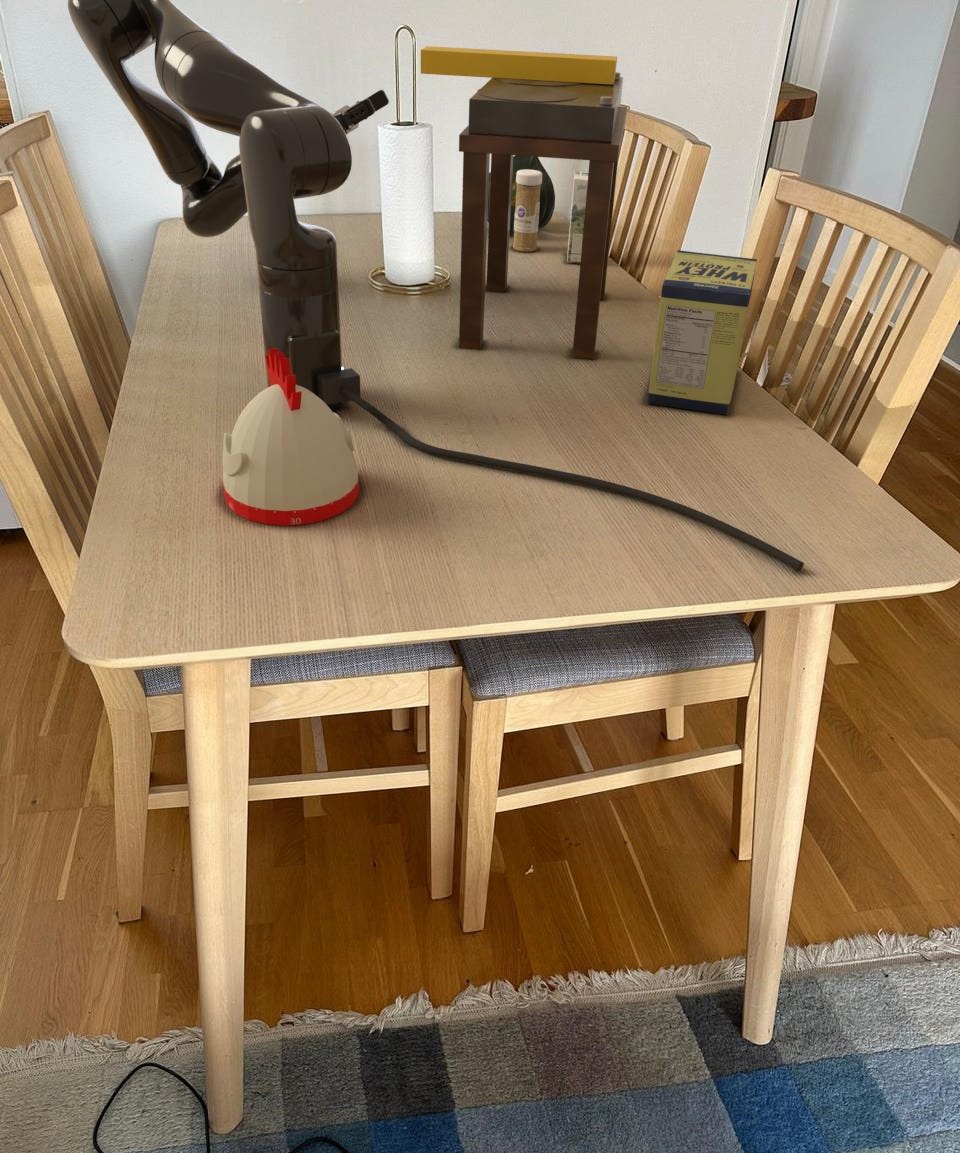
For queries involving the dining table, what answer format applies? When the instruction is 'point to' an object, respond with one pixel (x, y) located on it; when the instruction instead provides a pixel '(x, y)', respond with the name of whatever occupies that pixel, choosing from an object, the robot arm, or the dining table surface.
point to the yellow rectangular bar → (518, 65)
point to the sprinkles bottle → (527, 210)
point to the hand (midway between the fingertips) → (379, 100)
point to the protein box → (700, 331)
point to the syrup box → (577, 217)
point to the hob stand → (505, 128)
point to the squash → (545, 190)
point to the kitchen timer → (288, 455)
